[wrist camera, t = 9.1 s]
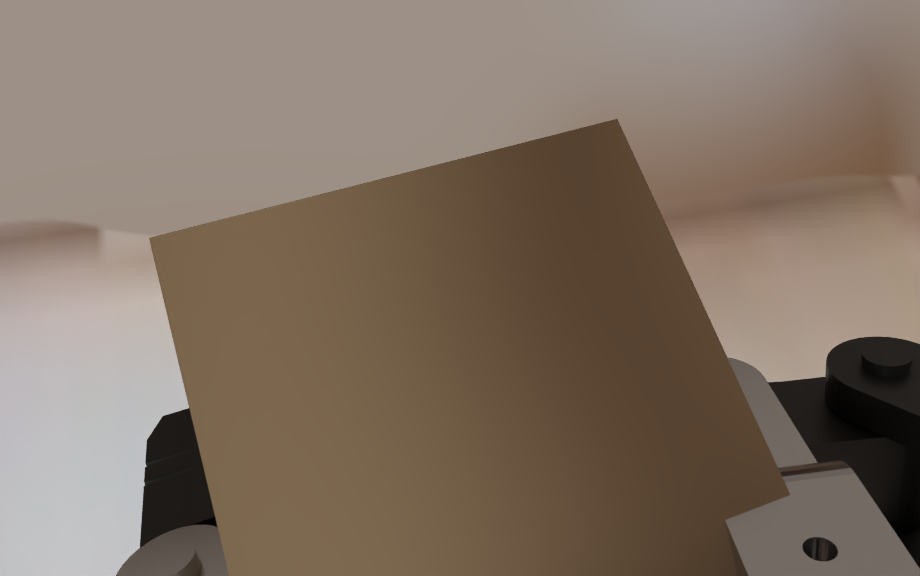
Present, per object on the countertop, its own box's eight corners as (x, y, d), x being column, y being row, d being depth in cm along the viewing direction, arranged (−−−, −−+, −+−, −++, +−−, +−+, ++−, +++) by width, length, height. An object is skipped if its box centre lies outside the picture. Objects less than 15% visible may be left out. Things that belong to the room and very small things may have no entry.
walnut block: (339, 670, 15) (283, 805, 6) (277, 439, 16) (149, 237, 7) (560, 585, 16) (829, 581, 6) (484, 373, 17) (617, 118, 8)
